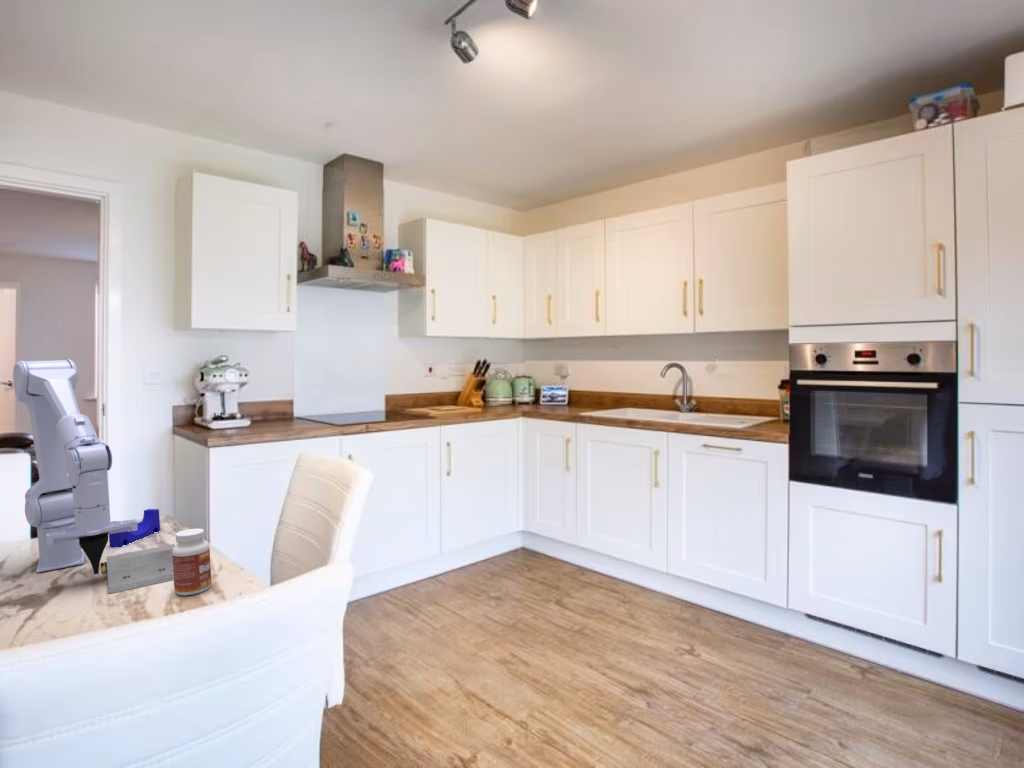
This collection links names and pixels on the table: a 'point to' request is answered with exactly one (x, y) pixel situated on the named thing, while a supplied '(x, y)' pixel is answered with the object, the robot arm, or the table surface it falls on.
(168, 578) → the steel hinge
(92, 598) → the table surface
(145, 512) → the blue u-shaped cradle block
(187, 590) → the pill bottle
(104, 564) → the brass headed pin
